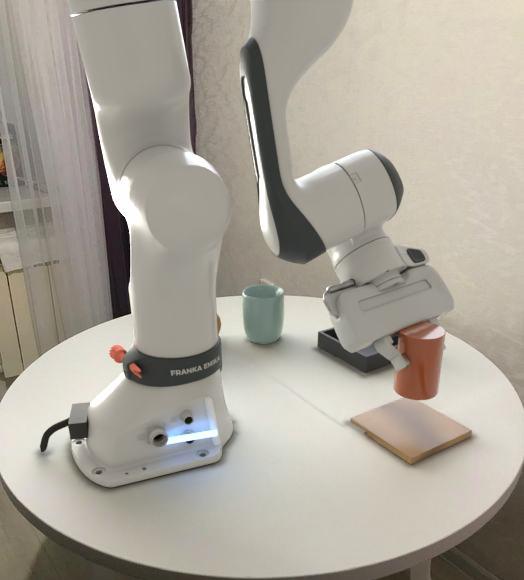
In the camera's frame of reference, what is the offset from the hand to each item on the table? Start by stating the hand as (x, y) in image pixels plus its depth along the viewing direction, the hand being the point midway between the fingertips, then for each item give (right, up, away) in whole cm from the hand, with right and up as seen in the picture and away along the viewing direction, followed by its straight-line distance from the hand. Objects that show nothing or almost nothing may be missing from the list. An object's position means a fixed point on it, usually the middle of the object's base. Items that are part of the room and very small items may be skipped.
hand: (422, 360), depth 79 cm
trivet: (-1, -10, +5) cm, 11 cm away
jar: (0, -4, +2) cm, 5 cm away
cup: (-21, +3, +34) cm, 40 cm away
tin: (-2, +1, +28) cm, 29 cm away
